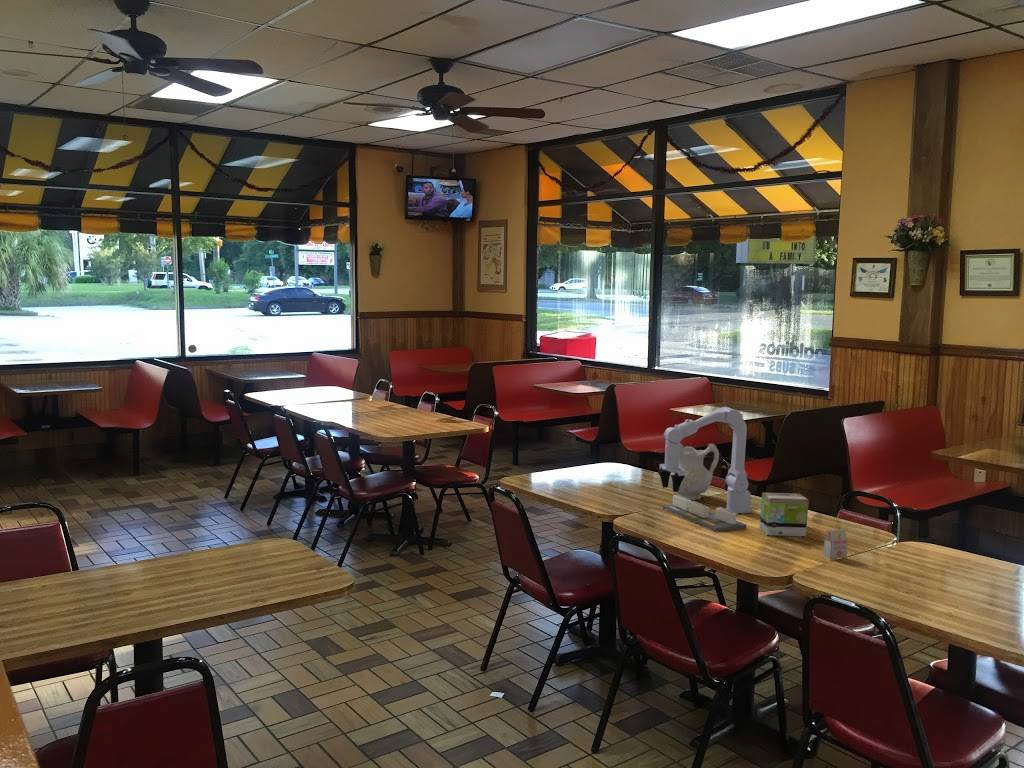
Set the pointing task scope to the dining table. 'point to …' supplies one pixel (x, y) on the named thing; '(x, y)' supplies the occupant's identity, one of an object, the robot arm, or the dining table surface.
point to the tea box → (783, 514)
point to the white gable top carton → (835, 544)
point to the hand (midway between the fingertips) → (670, 489)
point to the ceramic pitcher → (695, 471)
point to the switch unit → (705, 519)
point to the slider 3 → (725, 515)
